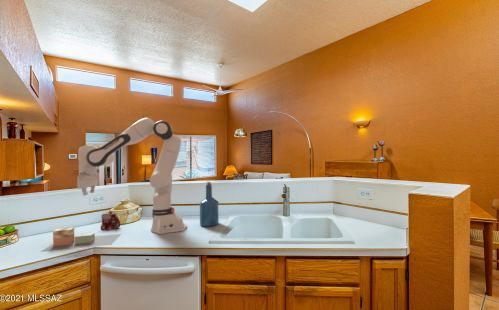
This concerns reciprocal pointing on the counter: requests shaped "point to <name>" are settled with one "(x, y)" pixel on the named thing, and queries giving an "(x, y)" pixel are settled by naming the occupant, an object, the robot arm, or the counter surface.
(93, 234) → the sage brick
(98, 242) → the white flat board
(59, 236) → the maple brick
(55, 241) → the terracotta brick
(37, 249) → the counter surface
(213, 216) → the wine bottle
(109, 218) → the dark brown lump
